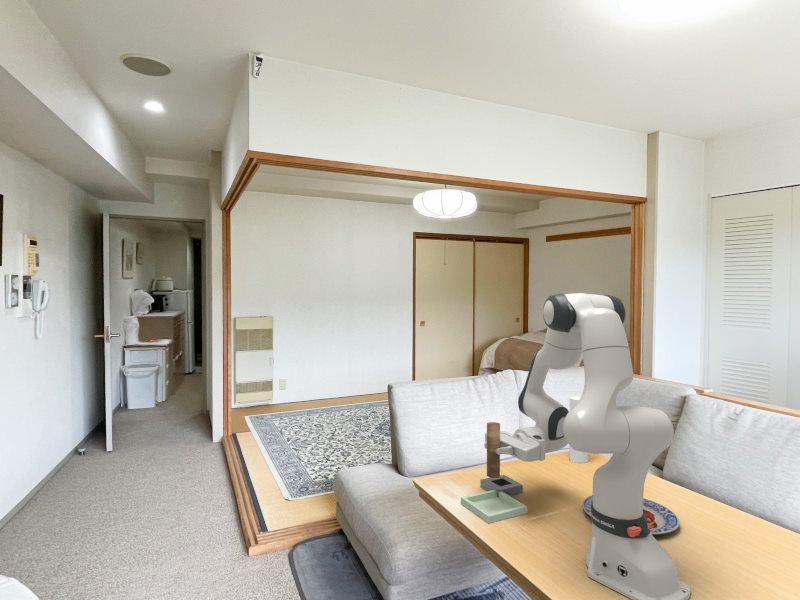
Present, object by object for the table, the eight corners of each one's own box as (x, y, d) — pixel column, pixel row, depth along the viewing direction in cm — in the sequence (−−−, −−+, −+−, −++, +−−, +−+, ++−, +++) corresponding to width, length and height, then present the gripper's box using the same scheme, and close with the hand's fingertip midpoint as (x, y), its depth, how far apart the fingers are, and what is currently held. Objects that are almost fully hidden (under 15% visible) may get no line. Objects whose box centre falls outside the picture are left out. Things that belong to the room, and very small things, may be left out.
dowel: (502, 476, 142) (502, 424, 142) (492, 478, 140) (492, 426, 140) (494, 472, 146) (494, 421, 145) (484, 474, 144) (484, 423, 144)
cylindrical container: (585, 464, 181) (585, 400, 181) (567, 460, 186) (567, 398, 185) (590, 459, 187) (590, 397, 187) (572, 455, 191) (572, 395, 191)
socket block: (522, 493, 154) (522, 484, 154) (498, 499, 150) (498, 490, 150) (503, 483, 163) (503, 474, 163) (480, 488, 159) (480, 479, 159)
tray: (527, 514, 139) (527, 506, 139) (488, 525, 133) (488, 516, 133) (497, 496, 152) (497, 488, 152) (460, 505, 146) (460, 497, 146)
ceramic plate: (695, 545, 122) (695, 534, 122) (592, 536, 127) (592, 525, 127) (660, 503, 148) (660, 494, 148) (575, 496, 153) (575, 487, 153)
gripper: (505, 424, 158) (471, 429, 152) (548, 441, 139) (512, 448, 133) (505, 442, 158) (471, 448, 152) (548, 462, 139) (512, 469, 133)
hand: (490, 448), depth 142 cm, fingers closed on dowel, 4 cm apart
